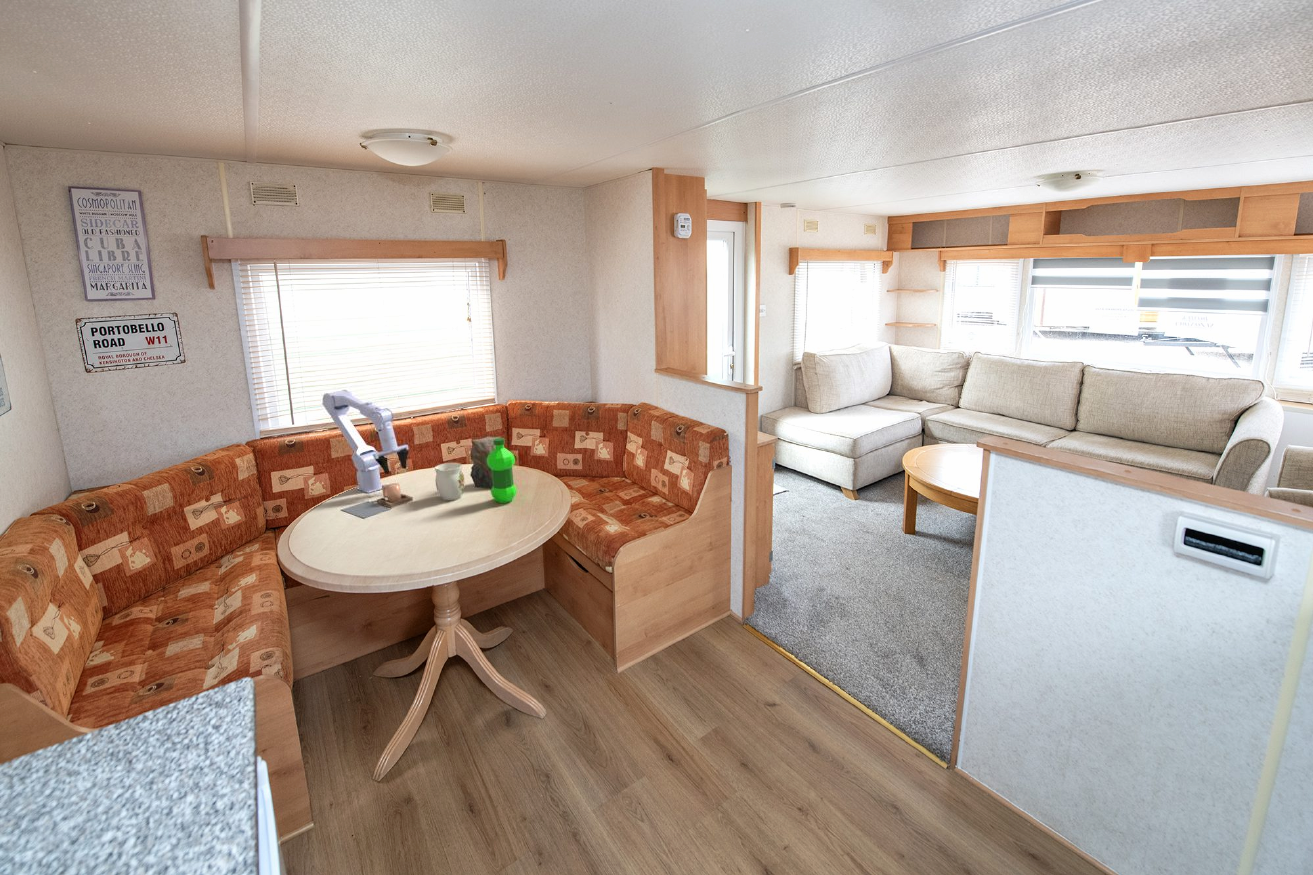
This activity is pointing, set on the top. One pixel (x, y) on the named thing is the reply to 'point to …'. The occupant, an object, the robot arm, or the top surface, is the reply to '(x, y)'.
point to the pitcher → (450, 480)
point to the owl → (482, 462)
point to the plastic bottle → (502, 472)
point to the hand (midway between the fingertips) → (396, 471)
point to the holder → (404, 500)
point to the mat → (365, 509)
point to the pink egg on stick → (392, 492)
